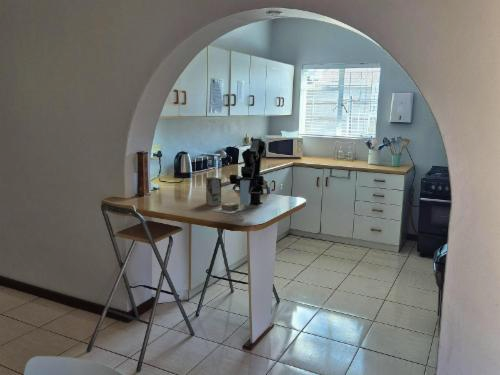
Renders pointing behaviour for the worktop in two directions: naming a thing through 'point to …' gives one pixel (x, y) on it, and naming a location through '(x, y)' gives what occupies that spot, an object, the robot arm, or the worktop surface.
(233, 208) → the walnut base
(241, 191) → the pillar
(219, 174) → the worktop surface
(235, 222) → the worktop surface
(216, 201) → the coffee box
